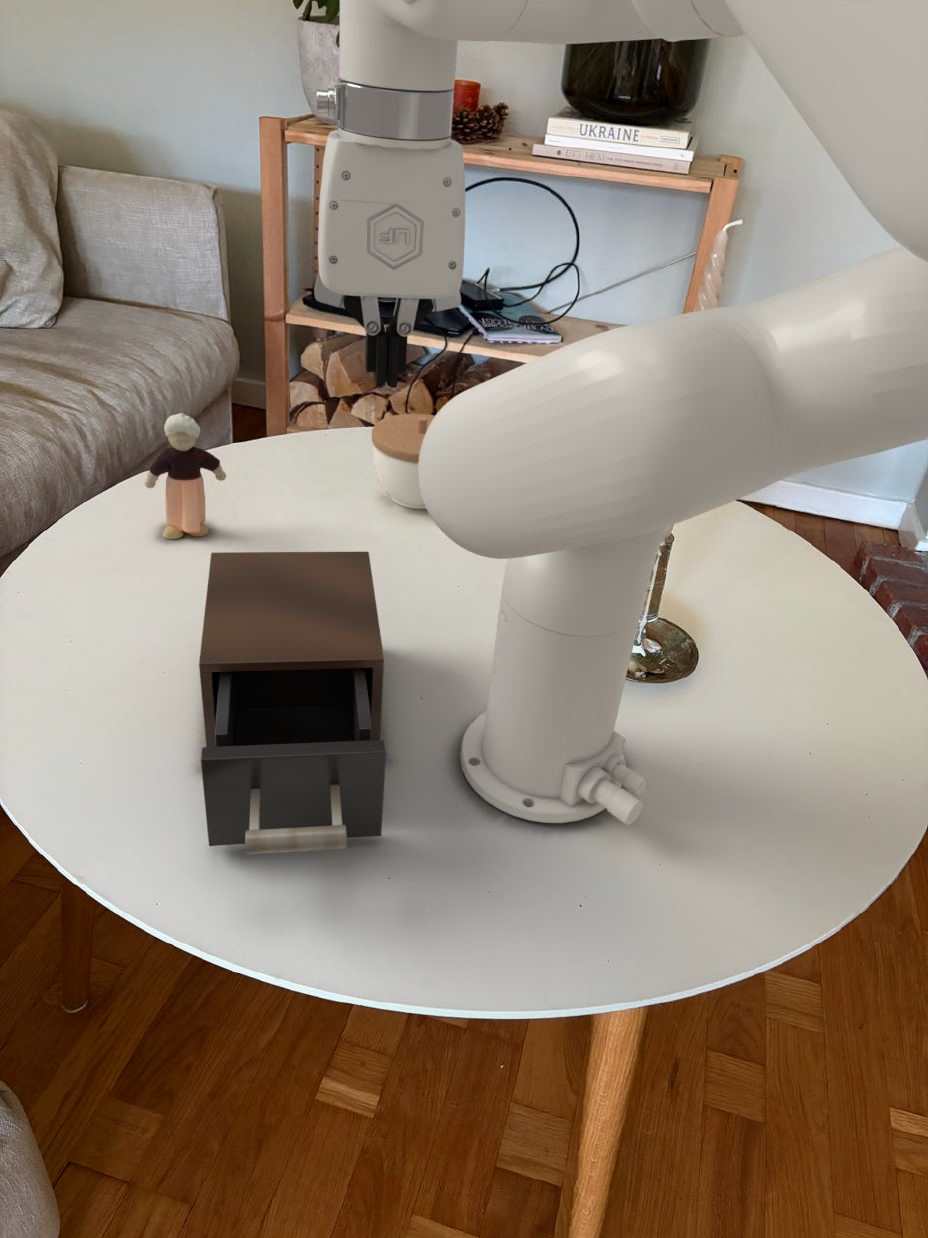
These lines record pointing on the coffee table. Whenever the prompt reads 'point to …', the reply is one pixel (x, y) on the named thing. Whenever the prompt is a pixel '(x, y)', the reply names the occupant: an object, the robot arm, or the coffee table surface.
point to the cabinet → (290, 620)
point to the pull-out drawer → (293, 761)
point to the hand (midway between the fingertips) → (384, 380)
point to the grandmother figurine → (184, 477)
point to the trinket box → (400, 456)
